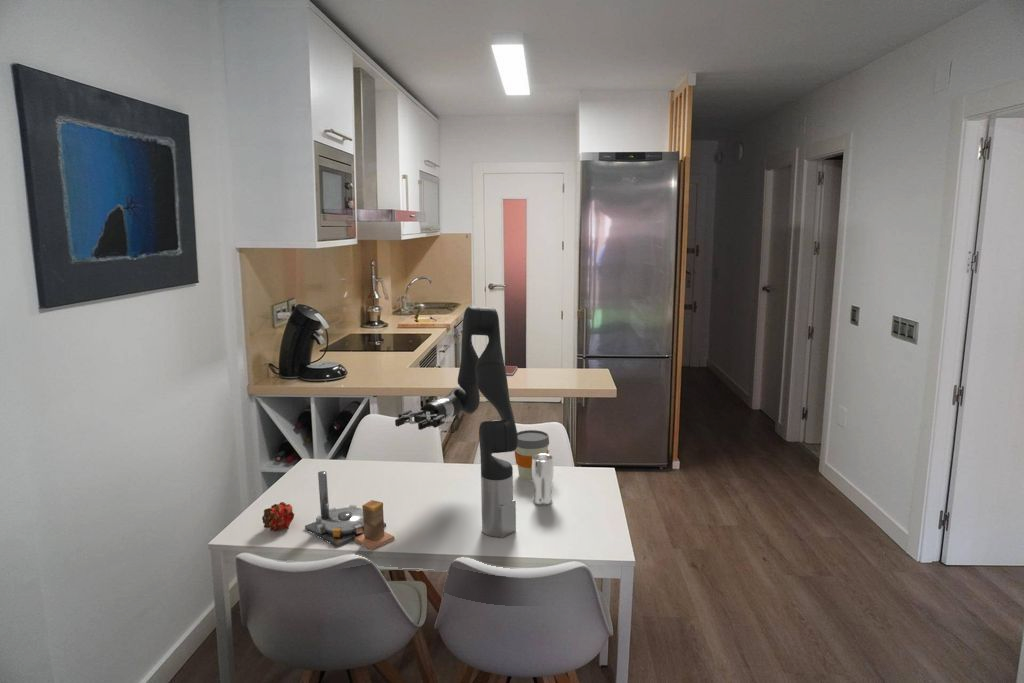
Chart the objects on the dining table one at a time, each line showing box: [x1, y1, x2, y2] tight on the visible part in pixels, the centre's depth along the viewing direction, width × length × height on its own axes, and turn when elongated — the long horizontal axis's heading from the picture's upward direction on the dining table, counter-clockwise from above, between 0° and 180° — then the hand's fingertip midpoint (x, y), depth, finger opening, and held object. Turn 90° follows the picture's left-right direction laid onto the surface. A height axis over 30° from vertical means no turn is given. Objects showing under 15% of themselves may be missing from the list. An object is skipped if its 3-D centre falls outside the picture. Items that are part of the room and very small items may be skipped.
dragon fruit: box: [261, 501, 296, 532], centre depth 203 cm, size 8×8×12 cm
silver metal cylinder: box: [532, 453, 555, 506], centre depth 218 cm, size 7×7×15 cm
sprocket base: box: [304, 521, 387, 548], centre depth 203 cm, size 17×17×1 cm
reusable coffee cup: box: [513, 429, 550, 482], centre depth 240 cm, size 13×13×15 cm
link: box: [361, 499, 385, 541], centre depth 194 cm, size 4×4×10 cm
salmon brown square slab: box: [354, 531, 395, 550], centre depth 195 cm, size 8×8×1 cm
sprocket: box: [315, 470, 364, 537], centre depth 201 cm, size 17×17×16 cm
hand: (407, 424), depth 206 cm, fingers open, 8 cm apart
